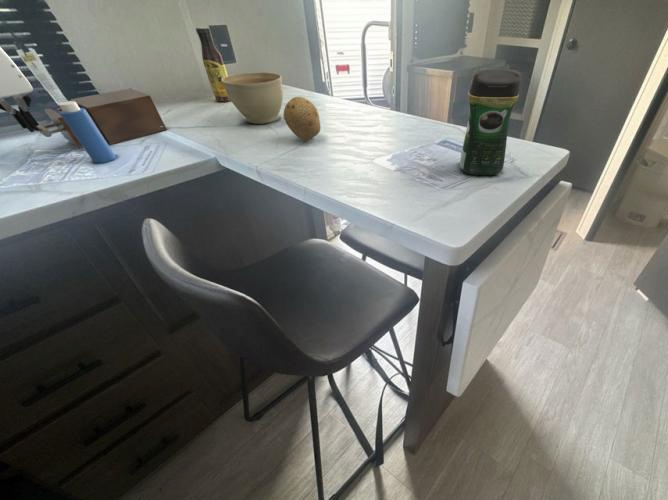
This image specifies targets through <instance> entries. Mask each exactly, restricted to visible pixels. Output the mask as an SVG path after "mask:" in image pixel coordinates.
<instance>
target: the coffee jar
mask: <svg viewBox="0 0 668 500" xmlns="http://www.w3.org/2000/svg"><path fill="white" fill-rule="evenodd" d="M520 86H521V74H520V73H519V71H518V70H517V69H508V68H506V69H505V68H485V69H483V68H482V69H475V70H474V72H473V73H472V77H471V81H470V85H469V89H468V92H467V100H468V105H469V107H468V108H469V109H468V118H467V125H466V130H465V135H464V140H463V143H462V149H461V154H460V159H459V168H460V170H461V171H462V172H464V173H466V174H467V175H480V176H481V175H482V176H483V175H489V176H490V175H498V174H499V173H501V172H502V171H503V169H504V164H505V160H506V159H505V158H506V152H507V151H506V149H507V141H508V133H509V126H510V121H511V116H512V111H513V109H514V106H515V105H516V103H517V101H518V99H519V96H520Z"/></svg>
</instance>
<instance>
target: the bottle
mask: <svg viewBox="0 0 668 500" xmlns="http://www.w3.org/2000/svg"><path fill="white" fill-rule="evenodd" d="M58 106H59V108H61V109H62V110H63V111H61V112H60V111H58V114H60V115H61V116H62V118H63V119H64V121H65V122H66V123H67V125H68V126H69V128H70V129H71V130H72V132H73V133H74V135H75V136H76V138H77V139H78V140H79V142H80V143H81V145H82V146H83V147H82V148H83V149H84V150H85V151H86V153H87V155H88V156H89V158H90V159H91V161H92V162H93V163H95V164H103V163H108V162H112V161H113V160H115V159H116V158H117V156H116V155H115V153H114V151H113V149H111V147H110V144H109V143H107V142H106V141H105V139H104V138H103V136H102V134H101V133H100V131H99V130H98V128H97V127H96V125H95V124H94V122H93V121H92V119H91V117H90V116H89V114H88V113H87V111H86V110H85V109H84V108H79V106H78V105H77V103H76V102H75V101H71V100H66V101H61V102H59V103H58Z"/></svg>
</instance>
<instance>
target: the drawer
mask: <svg viewBox="0 0 668 500" xmlns="http://www.w3.org/2000/svg"><path fill="white" fill-rule="evenodd" d="M79 108H82V107H80V106H79ZM57 110H58V112H57V111H55V110H54V109H52V108H50V107H48V108H44V109H43V111H44V112H45V114H46V115H47V116H48V117H49V119H50V120H51V121H52V123H48V124H43V125H42V124H40V123H38V124H39V125H38V126H37V128H38V129H39V131H38V132H39V133H40V134H41V135H43V136H44V137H46V138H51V137H52V136H53V134H56V133H57V134H58V133H61V135H62V137H64V139H66V140H67V141H68V142H70V143H72V144H73V145H74V146H76V147H77V148H83V146H82V145H81V143H80V142H79V140H78V139H77V138H76V136H75V135H74V133H73V132H72V130H71V129H70V128H69V126H68V125H67V123H66V122H65V121H64V119H63V118H62V116H61V115H60V113H59V112H61V111H63V110H62V109H61V108H60V107H57ZM85 110H86V109H85ZM86 111H87V113H88V114H89V116H90V117H91V119H92V121H93V122H94V124H95V125H96V127H97V128H98V130H99V131H100V133H101V134H102V136H103V138H104V139H106V138H105V136H104V134H103V133H102V131H101V130H100V128H99V127H98V125H97V123H96V122H95V120H94V119H93V117H92V116H91V114H90V113H89V111H88V110H86ZM54 127H56V128H55V129H49V128H54Z"/></svg>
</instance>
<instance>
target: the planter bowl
mask: <svg viewBox="0 0 668 500" xmlns="http://www.w3.org/2000/svg"><path fill="white" fill-rule="evenodd" d="M221 81H222V83H223V85H224V87H225V89H226V92H227V94H228V96H229V98H230V100H231V101H230V102H231V103H232V105H233V106H234V107H235V108H236V109H237V111H238V112H239V113H240V114H241V115H242V116H244V117H245V120H246V121H247V122H248V123H250V124H257V125H259V124H260V125H261V124H269V123H270V124H271V123H273V122H276V121H278V120H279V119H280V111H281V109H282V105H283V101H284V88H283V83H282V82H283V78H282V74H279V73H275V72H265V71H255V72H242V73H234V74H230V75H228V76H227V77H224V78H222V80H221Z"/></svg>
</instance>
